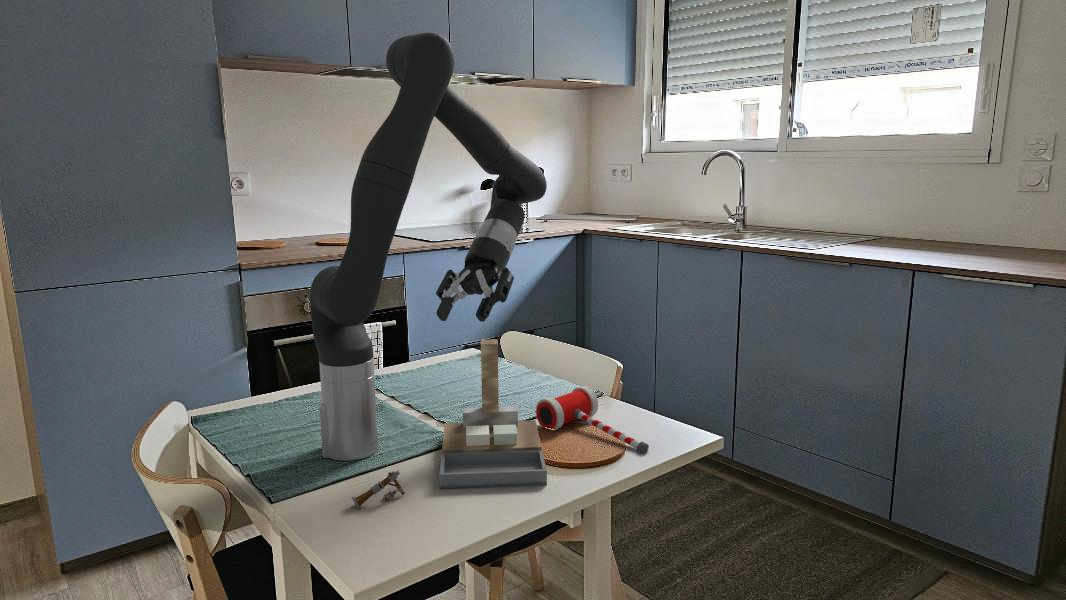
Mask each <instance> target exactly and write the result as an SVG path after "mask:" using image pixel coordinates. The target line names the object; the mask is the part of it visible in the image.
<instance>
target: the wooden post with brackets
mask: <svg viewBox="0 0 1066 600" xmlns="http://www.w3.org/2000/svg"><path fill="white" fill-rule="evenodd" d="M400 475H401V472H400V471H399V470H396V471H395V470H392V472H391V471H389V472H388V473H387V475H386V476H387V477H385V478H384V479H382V480H381V481H380V480H379V481H378V482H377V483H375V484H373V486H371V487H370V489H368V490H367V491H365V492H364V493H361V494H359V495H357V496H354V495H352V496H351V497H350V498H351V500H352V502H353V504H355V505H356V508H357V509H358V510H361V509H362V508H361V506H362V505H363V504H365V502H367V501H368V500H369V499H370V498H371V497H373V496H375V495H377V494H378V493H379V492H381V491H382V490H384V489H385V487H386V486H387V485H388V486H392V487H395V488H397V489H395V490H388V492H387V493H386V494H383V498H382V501H383V502H386V501H388V502H389V501H390V500H392V499H395V495H397V493H398V492H399V493H400V494H401V495H403V496H404V495H405V494H406V492H405V491H404V488H403V486H402V485H401V484H400V483H399V480H397V479H398V478H399V476H400Z"/></svg>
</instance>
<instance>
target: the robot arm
mask: <svg viewBox="0 0 1066 600" xmlns="http://www.w3.org/2000/svg"><path fill="white" fill-rule="evenodd" d="M385 62H386V63H385V64H386V68H387V71H388V73H389V75H390V77H391V78H392V80H393V81H394V82H395V83H396V85H398V86H399V90H398V91H399V92H398V95H397V98H396V100H395V102H394V104H393V107H392V109H391V110H390V112H389V114H388V116H387V117H386V119H384V121H383V122H382V123H381V125H380V127H379V128H378V129H377V131H376V132H375V134H374V135H373V136H372V138H371V139H370V140H369V142H368V144H367V145H366V148H365V149H364V151H363V154H362V156H361V159H360V162H359V164H358V168H357V171H356V174H355V177H354V180H353V184H352V188H351V195H350V230H349V231H350V232H349V237H348V242H347V245H346V249H345V251H344V254H343V256H342V259H341V261H340V264H339V265H331V266H328V267H325V268H324V269H322V270H320V271H319V272H318V273H317V274H316V275H315V276H314V278H313V280H312V282H311V286H310V288H309V289H310V290H309V307H310V319H311V326H312V334H313V341H314V344H315V347H316V350H317V352H318V361H319V378H320V392H321V403H320V405H319V407H318V410H319V420H320V422H319V423H320V435H321V436H320V437H321V453H322V458H325V459H326V458H329V459H332V460H335V461H341V462H342V461H344V462H345V461H347V462H348V461H349V462H350V461H357V460H361V459H365V458H367V457H370V456H372V455H374V454H376V452H377V451H378V449H379V442H378V441H379V436H378V423H377V422H378V421H377V420H378V419H377V418H378V417H377V400H376V399H377V398H376V397H377V396H376V380H375V362H374V345H373V342H372V340H371V338H370V337H369V334H368V333H367V331H366V328H365V323H364V322H365V321H366V320H368V319H369V318H370V316H371V315H372V313H373V312H374V310H375V308H376V307H377V303H378V300H379V296H380V292H381V286H382V283H383V278H384V272H385V269H386V264H387V260H388V257H389V251H390V248H391V245H392V242H393V239H394V237H395V234H396V230H397V228H398V224H399V221H400V219H401V215H402V212H403V209H404V207H405V204H406V201H407V198H408V196H409V193H410V189H411V187H412V184H413V180H414V178H415V174H416V170H417V167H418V164H419V160H420V159H421V155H422V152H423V149H424V146H425V144H426V141H427V138H428V134H429V131H430V128H431V125H432V123H433V120H434V118H436V120H438V121H439V122H440V124H441V125H443V126H444V128H446V129H447V130H448V132H450V134H452V136H453V137H454V138H455V139H456V140H457V141H458V142H459V144H461V145H462V146H463V147H464V149H465V150H466V151H467V152H468V153H469V155H470V156H471V157H472V158H473V159H474V161H475V162H476V164H477V165H479V166H480V168H482V170H483V171H484V172H486V174H488V175H491V176H498V177H496V179H495V180H494V182H493V186H492V190H491V199H490V207H489V210H488V211H487V212H488V213H486V216H485V218H484V221H483V222H482V224H481V226H480V227H479V229H478V230H477V233H476V235H475V236H474V239H473V241H472V243H471V245H470V247H469V249H468V251H467V253H466V255H465V257H464V267H463V269H462V270H460V272H454V270H453V269H448V270H447V271H446V273H445V275H444V277H443V278H442V280H441V282H440V284H439V286H438V287H437V290H436V291H435V295H436V296H437V297H438V299H439V300H440V303H439V306H438V307H437V310H436V316H437V318H438V319H439V320H440V321H441V322H446V321H447V320H448V318H449V315H450V313H451V311H452V309H453V307H454V304H455V303H457V301H459V300H460V299H461V300H463V299H465V298H466V297H467V296H469V295H470V296H473V295H479V296H480V295H481V296H482V295H484V297H482V298H481V301H480V303H479V306H478V307H477V310H476V312H475V317H476V319H477V320H478V321H479V322H480V323H481V322H482V323H483V322H486V320H487V319H488V318H489V316H490V314H491V312H492V309H493V307H494V306H495V305H497V303H499V302H500V303H502V304H503V303H505V302H506V301H507V300H508V297H509V294H510V290H511V288H512V285H513V282H514V279H515V276H514V274H512V272H511V270H510V269H509V268H508V267H507V265H508V263H509V261H510V258H511V256H512V254H513V251H514V249H515V246H516V242H517V239H518V236H519V234H520V232H521V230H522V228H523V225H524V223H525V220H526V219H525V218H526V217H525V215H526V214H525V211H524V209H523V207H522V206H521V205H523V204H529V203H532V202H536V201H538V200H540V199H542V198H543V197H544V196H545V195H546V193H547V188H548V187H547V180H546V177H545V174H544V173H543V171H542V169H541V168H540V167H539V166H538V165H537V164H536V163H534V161H532V160H531V159H529V158H528V157H527V156H525V155H524V154H523V153H521V152H520V151H519V150H518V149H515V148H514V147H513V146H512V145H511V144H510V143H509V141H508V140H507V139H506V138H505V137H504V135H503V134H502V133H501V131H500V130H499V129H498V128H497V126H496V125H495V124H494V123H493V122H492V121H491V120H490V119H489V118H488V117H486V115H484V114H483V113H481V112H480V111H479V110H478V109H477V108H475V107H474V106H473V105H471V104H470V103H469V102H467V101H466V100H465V99H464V98H462V97H461V96H460V95H459V94H458V93H457V92H456V91H455V90H454V89H453V88H452V87H451V86H450V82H451V80H452V77H453V74H454V70H455V53H454V50H453V46H452V45H451V43H450V42H449V40H448V39H447V38H446V37H445V36H443V35H442V34H441V33H440V34H439V33H435V32H421V33H416V34H410V35H405V36H402V37H399V38H397V39H396V40H394V41H393V42H392V43H391V44H390V45H389V47H388V49H387V52H386V58H385ZM495 285H496V286H495ZM494 286H495V288H493V287H494ZM459 287H460V288H462V291H460V289H459ZM494 289H495V290H494ZM454 293H455V294H454ZM453 294H454V295H453ZM452 295H453V296H452ZM451 296H452V297H451Z"/></svg>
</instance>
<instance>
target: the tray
mask: <svg viewBox="0 0 1066 600" xmlns="http://www.w3.org/2000/svg"><path fill="white" fill-rule="evenodd" d="M440 456H441V458H440V466H439V467H440V468H439V489H440V490H448V489H449V490H450V489H451V490H453V489H476V488H477V489H478V488H479V489H480V488H502V487H504V488H505V487H528V486H530V487H531V486H547V485H548V470H547V464H546V460H545V457H544V456H545V455H544V451H543V449H542V450H520V451H492V452H464V453H442V452H441V455H440Z"/></svg>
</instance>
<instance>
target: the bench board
mask: <svg viewBox="0 0 1066 600" xmlns="http://www.w3.org/2000/svg"><path fill="white" fill-rule="evenodd" d="M443 425H444V428H443V437H442V445H441V447H442V448H441V454H442V453H464V452H492V451H520V450H542V451H543V448H542V444H541V440H540V439H541V438H540V435H539V431H538V426H537V422H536V420H535V419H534V420H532V419H531V420H518V427H516V429H517V444H509V445H494V437H493V427H489V443H490V445H481V446H466V428H463V422H445V423H444V424H443Z"/></svg>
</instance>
